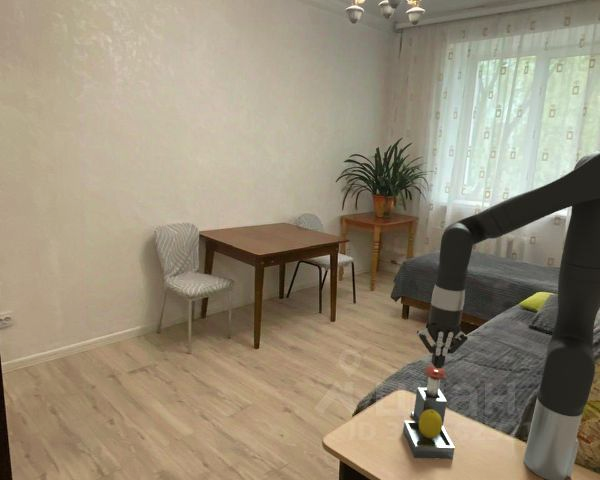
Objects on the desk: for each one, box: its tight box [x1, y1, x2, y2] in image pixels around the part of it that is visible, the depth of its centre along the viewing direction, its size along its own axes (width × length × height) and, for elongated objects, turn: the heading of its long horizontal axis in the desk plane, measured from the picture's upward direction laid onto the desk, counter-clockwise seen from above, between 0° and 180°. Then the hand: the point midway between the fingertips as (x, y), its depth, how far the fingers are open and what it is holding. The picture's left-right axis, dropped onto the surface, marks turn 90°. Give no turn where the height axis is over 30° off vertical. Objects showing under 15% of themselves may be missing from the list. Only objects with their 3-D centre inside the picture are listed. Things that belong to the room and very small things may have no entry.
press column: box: [410, 386, 448, 431], centre depth 115 cm, size 7×7×9 cm
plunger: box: [425, 364, 446, 398], centre depth 113 cm, size 5×5×10 cm
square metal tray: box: [402, 420, 456, 460], centre depth 107 cm, size 10×10×3 cm
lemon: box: [419, 409, 442, 438], centre depth 106 cm, size 6×6×8 cm
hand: (437, 366), depth 108 cm, fingers closed
